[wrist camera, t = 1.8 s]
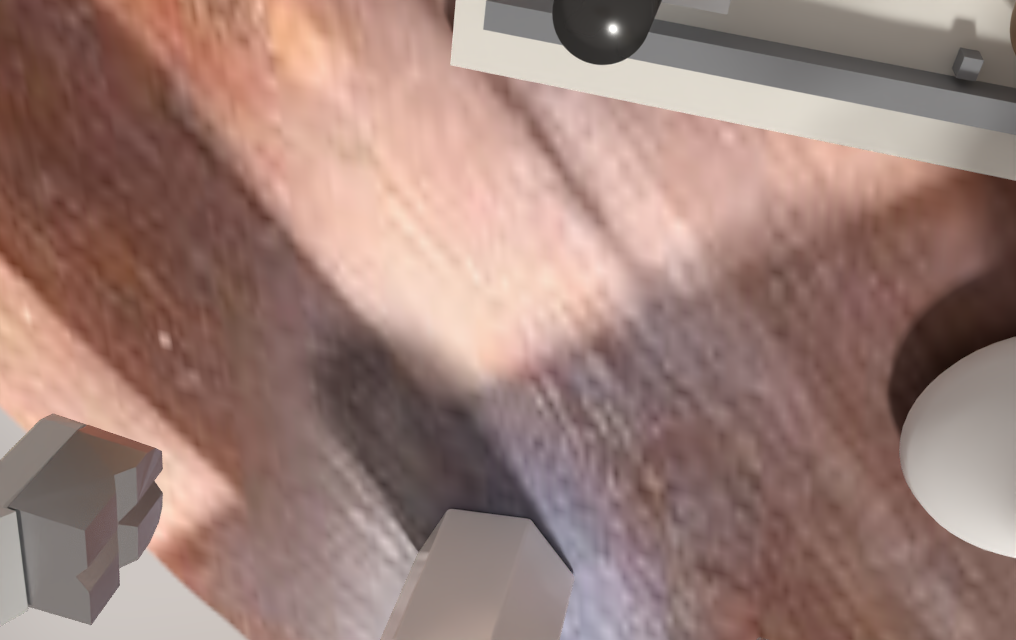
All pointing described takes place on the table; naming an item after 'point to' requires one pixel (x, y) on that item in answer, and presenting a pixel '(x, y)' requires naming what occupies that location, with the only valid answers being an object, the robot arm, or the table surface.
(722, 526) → the table surface
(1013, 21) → the brown ball
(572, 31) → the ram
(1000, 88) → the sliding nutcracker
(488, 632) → the jar
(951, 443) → the flower in vase
